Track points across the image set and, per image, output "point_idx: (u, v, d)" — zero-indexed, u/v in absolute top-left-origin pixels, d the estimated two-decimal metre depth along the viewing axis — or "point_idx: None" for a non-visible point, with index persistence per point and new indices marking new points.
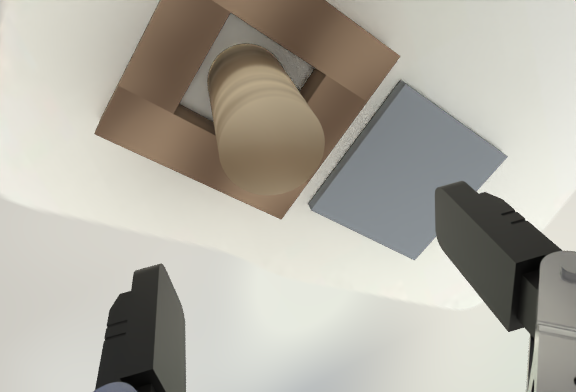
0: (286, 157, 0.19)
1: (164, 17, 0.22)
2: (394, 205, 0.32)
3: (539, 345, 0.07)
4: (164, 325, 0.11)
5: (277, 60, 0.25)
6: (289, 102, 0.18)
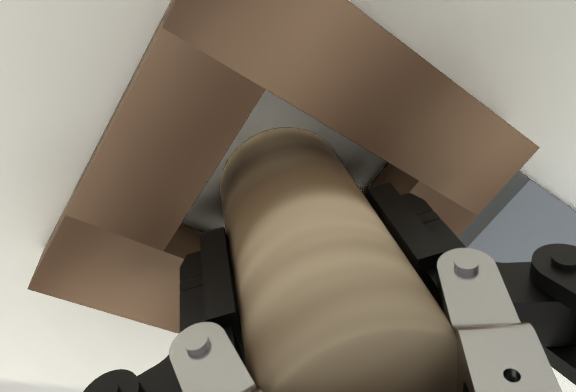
0: None
1: (145, 101, 0.12)
2: None
3: (464, 349, 0.08)
4: (233, 279, 0.12)
5: (336, 154, 0.15)
6: (418, 334, 0.08)
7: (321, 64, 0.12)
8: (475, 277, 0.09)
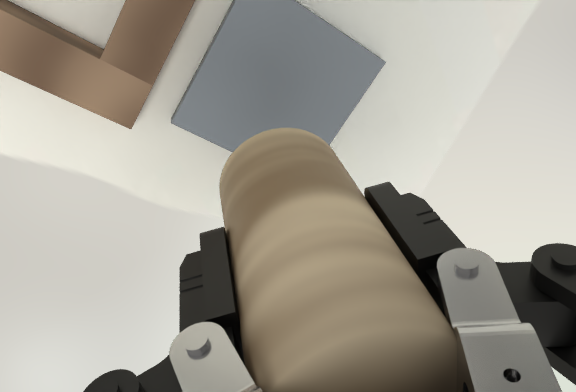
0: None
1: None
2: (266, 119, 0.30)
3: (464, 349, 0.08)
4: None
5: (335, 154, 0.15)
6: (417, 334, 0.08)
7: None
8: (475, 277, 0.09)
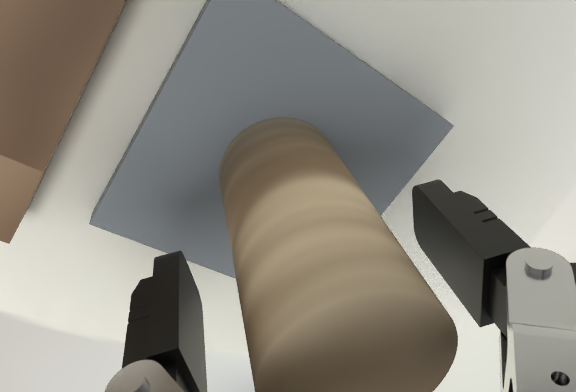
0: (382, 380, 0.10)
1: None
2: None
3: (514, 344, 0.07)
4: (185, 308, 0.11)
5: (329, 143, 0.16)
6: (401, 297, 0.09)
7: None
8: (550, 278, 0.09)
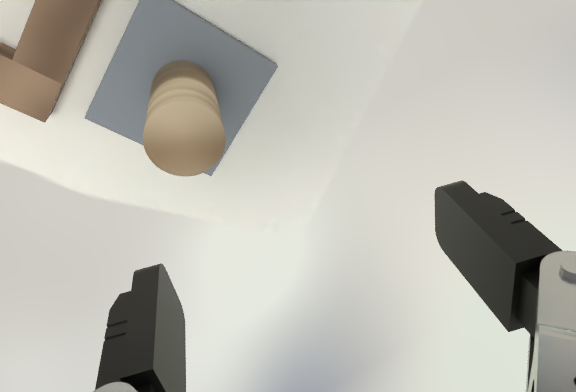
0: (196, 146, 0.25)
1: None
2: None
3: (539, 345, 0.07)
4: (164, 325, 0.11)
5: (205, 73, 0.32)
6: (193, 104, 0.24)
7: None
8: None
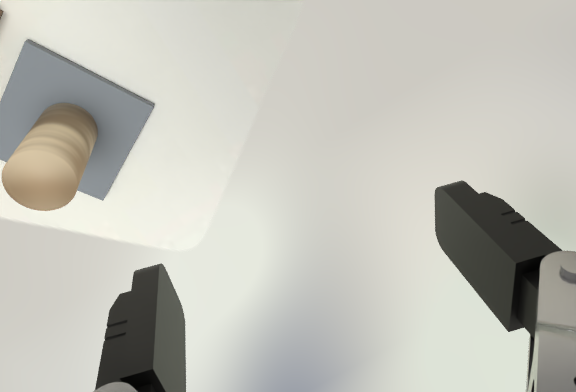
0: (51, 186, 0.30)
1: None
2: None
3: (539, 345, 0.07)
4: (164, 325, 0.11)
5: (84, 114, 0.36)
6: (43, 153, 0.29)
7: None
8: None
